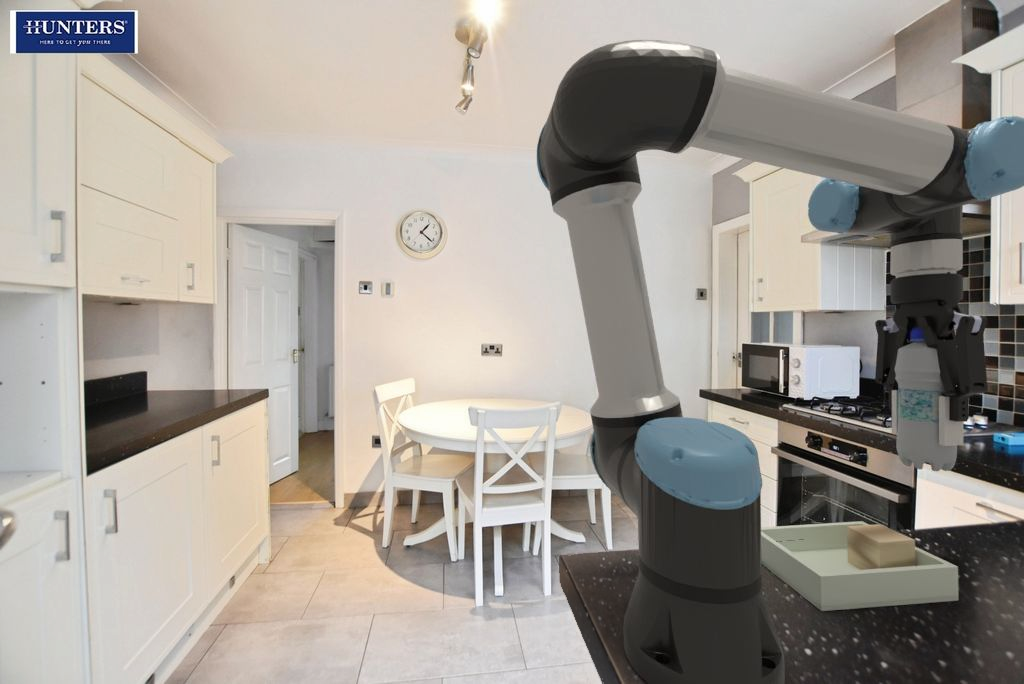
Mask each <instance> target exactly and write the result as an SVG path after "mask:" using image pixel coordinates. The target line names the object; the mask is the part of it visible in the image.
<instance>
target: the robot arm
mask: <svg viewBox="0 0 1024 684" xmlns="http://www.w3.org/2000/svg"><path fill="white" fill-rule="evenodd" d="M720 58H721V57H720V55H719V53H718V52H717V51H715V50H712V49H707V48H704V47H700V46H696V45H691V44H686V43H682V42H677V41H668V40H660V39H659V40H657V39H655V40H654V39H637V40H635V39H634V40H626V41H625V40H624V41H619V42H614V43H613V42H612V43H608V44H606V45H602V46H600V47H598V48H595V49H593V50H590V52H588V53H586V54H584V55H583V56H581V57H580V58H579V59H578V60H576V62H574V63H573V64H572V65H571V67H569V69H568V70H567V71H566V72H565V74H564V75H563V78H562V80H560V83H559V84H558V87H557V90H556V93H555V96H554V99H553V103H552V105H551V108H550V111H549V114H548V116H547V119H546V122H545V123H544V124H543V127H542V129H541V131H540V133H539V137H538V142H537V145H536V167H537V171H538V174H539V177H540V180H541V182H542V183H543V185H544V187H545V188H546V189H547V190H548V191H549V197H550V200H551V201H550V202H551V205H552V211H553V213H555V214H556V215H557V216H558V217H560V218H562V219H563V220H565V221H566V225H567V229H568V235H569V240H570V247H571V252H572V258H573V262H574V267H575V274H576V279H577V284H578V290H579V295H580V301H581V305H582V311H583V318H584V322H585V327H586V334H587V338H588V343H589V350H590V354H591V355H590V356H591V361H592V366H593V371H594V372H593V373H594V377H595V381H596V388H597V392H598V393H597V394H598V397H597V399H596V400H595V402H594V403H593V405H592V406H591V408H590V410H589V413H590V419H591V423H592V424H591V425H592V428H593V431H592V434H591V438H590V443H589V451H590V452H589V453H590V458H591V461H592V464H593V468H594V470H595V472H596V474H597V475H598V478H599V479H600V480H601V482H602V483H603V484H604V485H605V487H607V488H608V489H609V491H611V492H612V493H613V494H615V495H616V496H617V497H618V498H619V499H620V501H622V503H624V504H625V505H626V506H627V508H629V510H631V512H632V513H633V514H634V515H635V516H636V519H637V531H638V532H637V533H638V534H637V537H638V539H637V540H638V543H637V544H638V574H637V577H636V580H635V584H634V587H633V589H632V593H631V596H630V597H629V598H630V599H629V602H628V605H627V608H626V610H625V614H624V618H623V648H624V652H625V656H626V658H627V660H628V662H629V664H630V665H631V667H632V669H633V670H634V671H635V672H636V673H637V675H638V676H640V678H641V679H643V680H644V681H645V682H646V683H647V684H786V683H785V682H786V677H785V676H786V675H785V671H786V670H785V655H784V650H783V649H784V648H783V647H782V644H781V641H780V638H779V636H778V632H777V630H776V626H775V624H774V622H773V619H772V616H771V615H772V614H771V613H770V610H769V607H768V605H767V602H766V600H765V596H764V594H763V581H762V580H763V579H762V577H763V576H762V571H763V570H762V569H763V568H762V565H763V564H762V561H761V527H762V515H761V514H762V507H761V504H762V503H761V502H762V500H761V493H762V488H763V478H762V474H761V468H760V467H761V466H760V461H759V460H760V459H759V453H758V449H757V447H756V445H755V443H754V442H753V441H752V440H751V439H750V438H749V437H748V436H747V435H746V434H744V432H742V431H740V430H738V429H736V428H734V427H732V426H729V425H726V424H724V423H720V422H717V421H707V420H705V419H702V418H696V417H684V416H683V411H682V406H681V401H680V397H679V396H678V395H677V394H675V393H673V392H672V391H671V390H670V389H667V387H666V386H665V381H664V376H663V371H662V365H661V360H660V354H659V348H658V343H657V336H656V332H655V331H656V330H655V326H654V320H653V316H652V310H651V303H650V298H649V292H648V286H647V281H646V276H645V270H644V264H643V259H642V252H641V249H640V248H641V247H640V242H639V241H640V240H639V237H638V236H639V235H638V231H637V225H636V220H635V215H634V213H635V212H634V208H633V206H634V202H635V201H636V200H637V199H638V197H639V196H640V194H641V192H642V189H643V188H642V182H641V176H640V171H639V165H638V161H637V154H638V153H640V152H645V151H651V150H655V151H663V152H667V153H672V154H677V155H679V154H682V153H684V152H685V151H686V150H687V149H689V148H696V149H700V150H705V151H708V152H709V151H710V152H714V153H718V154H722V155H725V156H730V157H734V158H737V159H738V158H739V159H743V160H747V161H752V162H756V163H760V164H764V165H769V166H773V167H777V168H781V169H785V170H790V171H794V172H798V173H803V174H806V175H811V176H815V177H820V178H824V179H822V181H820V182H819V183H818V184H817V185H816V186H815V187H814V189H813V190H812V193H811V194H810V197H809V200H808V202H807V203H808V204H807V207H808V211H807V212H808V213H807V215H808V219H809V223H810V224H811V225H812V226H813V227H814V228H815V229H816V230H818V231H820V232H825V233H826V232H827V233H837V234H839V235H842V234H846V233H847V234H852V233H853V234H855V233H856V234H859V233H860V234H861V233H862V234H864V233H865V234H869V233H871V234H877V233H878V234H879V233H882V234H889V237H890V238H889V242H890V245H889V246H890V259H889V261H890V266H889V267H890V271H889V272H890V273H889V274H890V275H891V276H895V278H893V279H892V280H891V281H890V303H891V304H894V306H895V310H894V312H893V315H892V317H889V318H887V319H878V320H876V321H875V322H874V323H875V324H874V325H875V330H876V332H877V334H876V335H877V345H876V360H875V361H876V362H875V374H874V375H875V376H874V381H875V383H876V384H881V385H883V386H885V388H886V389H888V409H889V410H890V411H891V434H892V435H896V436H897V430H898V382H897V381H896V379H895V377H896V373H895V370H894V369H895V365H896V360H897V354H898V349H899V348H902V347H904V346H906V345H908V344H911V343H913V342H915V341H910V331H911V329H913V328H915V327H919V328H920V329H921V330H922V332H923V336H924V339H925V342H926V345H927V346H928V347H930V348H934V349H936V350H937V355H938V363H939V369H940V377H941V380H942V383H943V387H944V390H945V392H944V393H941V395H942V396H939V445H943V446H964V422H968V420H969V417H970V415H969V412H970V411H969V408H970V407H969V405H970V404H969V399H970V397H972V396H973V395H974V396H975V395H977V394H985V393H987V391H988V387H989V386H988V377H987V368H986V367H987V366H986V355H985V353H986V352H985V351H986V350H985V344H984V343H985V342H984V333H985V330H986V328H987V323H988V318H987V317H986V316H984V315H969V314H965V313H963V312H962V310H961V308H960V306H959V305H960V304H959V302H960V301H962V300H963V299H964V276H963V275H962V274H960V273H957V272H958V271H960V270H962V269H963V263H964V262H963V261H964V257H963V255H964V254H963V253H964V252H963V250H964V249H963V247H964V246H963V243H964V242H963V236H964V235H963V207H964V206H966V205H970V204H974V203H977V202H985V201H989V200H990V199H991V198H995V197H997V196H1000V195H1003V194H1006V193H1011V192H1013V191H1016V190H1018V189H1021V188H1023V187H1024V117H1021V116H1017V115H1016V116H1015V115H1010V116H1002V117H997V118H995V119H993V120H991V121H983V122H980V123H978V124H976V125H975V127H973V128H967V129H966V128H963V127H962V128H961V127H957V126H954V125H950V124H949V125H948V124H945V123H941V122H938V121H934V120H930V119H927V118H923V117H919V116H915V115H912V114H911V115H910V114H908V113H902V112H900V111H895V110H893V109H892V110H891V109H888V108H884V107H881V106H877V105H873V104H870V103H869V104H868V103H866V102H861V101H858V100H857V101H856V100H853V99H850V98H845V97H842V96H838V95H834V94H830V93H827V92H823V91H819V90H815V89H811V88H808V87H804V86H801V85H796V84H792V83H788V82H785V81H781V80H777V79H773V78H769V77H765V76H761V75H757V74H754V73H751V72H750V73H749V72H745V71H742V70H738V69H735V68H730V67H727V66H724V65H722V62H721V59H720ZM955 330H956V331H955Z"/></svg>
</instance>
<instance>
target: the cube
mask: <svg viewBox="0 0 1024 684" xmlns="http://www.w3.org/2000/svg"><path fill="white" fill-rule="evenodd" d="M915 547H916V540H915V539H914V538H911V537H909V536H907V535H905V534H903V533H900V532H898V531H896V530H894V529H892V528H889V527H887V526H885V525H882V524H881V523H878V524H875V523H874V524H869V525H860V526H847V551H848V562H849V563H850V564H852V565H854V566H855V567H857V568H859V569H860V570H866V569H880V568H894V567H908V566H915Z"/></svg>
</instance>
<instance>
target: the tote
mask: <svg viewBox="0 0 1024 684" xmlns="http://www.w3.org/2000/svg"><path fill="white" fill-rule="evenodd" d="M860 525H870V524H868V523H866V522H864V521H863V520H861V521H846V522H845V521H842V522H828V523H827V522H826V523H825V522H824V523H812V524H811V523H810V524H809V523H808V524H796V525H795V524H794V525H793V524H792V525H781V526H779V525H778V526H761V561H762V565H763V566H764V567H765V568H766V567H767V568H766V569H768V570H769V571H770V572H771V573H773V574H774V575H775V576H776V577H778V578H779V579H780V580H782V581H783V582H784V583H786V584H787V585H788V586H789V587H791V588H792V590H794V591H795V592H797V593H798V594H799V595H800V596H802V598H804V599H806V600H807V601H808V602H810V604H812V605H813V606H815V607H816V608H817V609H818V610H819V611H821V612H826V611H827V612H829V611H839V610H840V611H841V610H853V609H854V610H855V609H865V608H866V609H867V608H877V607H878V608H879V607H881V608H882V607H891V606H904V605H918V604H929V603H942V602H943V603H944V602H956V601H959V566H957V565H955V564H953V563H951V562H949V561H947V560H944V559H943V558H940V557H938V556H936V555H934V554H932V553H930V552H927V551H925V550H924V549H922V548H919V547H917V546H915V566H908V567H894V568H880V569H866V570H860V569H859V568H857V567H855V566H854V565H852V564H850V563H849V562H848V551H847V526H860ZM799 539H804V540H799ZM787 540H795V541H787ZM776 541H782V542H776ZM763 542H764V543H763Z"/></svg>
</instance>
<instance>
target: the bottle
mask: <svg viewBox="0 0 1024 684" xmlns="http://www.w3.org/2000/svg"><path fill="white" fill-rule="evenodd" d="M910 341H915V342H913V343H911V344H908V345H906V346H904V347H902V348H899V349H898V354H897V360H896V365H895V369H894V370H895V373H896V377H895V379H896V381H897V382H898V430H897V435H896V442H895V443H896V444H895V445H896V451H897V455H898V458H899V460H900V462H901V463H902V464H903V465H904V466H907V467H911V466H912V464H913V466H914V468H915V469H917V470H923V468H924V464H926V463H928V464H929V465H930V468H931V470H932V471H933V472H940V471H941V470H942V471H944V472H948V471H950V470H952V469H953V468H954V466H955V465H956V462H957V456H958V447H957V446H958V445H957V446H943V445H939V396H942V395H941V393H944V392H945V390H944V387H943V383H942V380H941V377H940V369H939V363H938V355H937V350H936V349H934V348H930V347H928V346H927V345H926V342H925V339H924V336H923V332H922V330H921V329H920V328H919V327H915V328H913V329H911V331H910Z"/></svg>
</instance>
